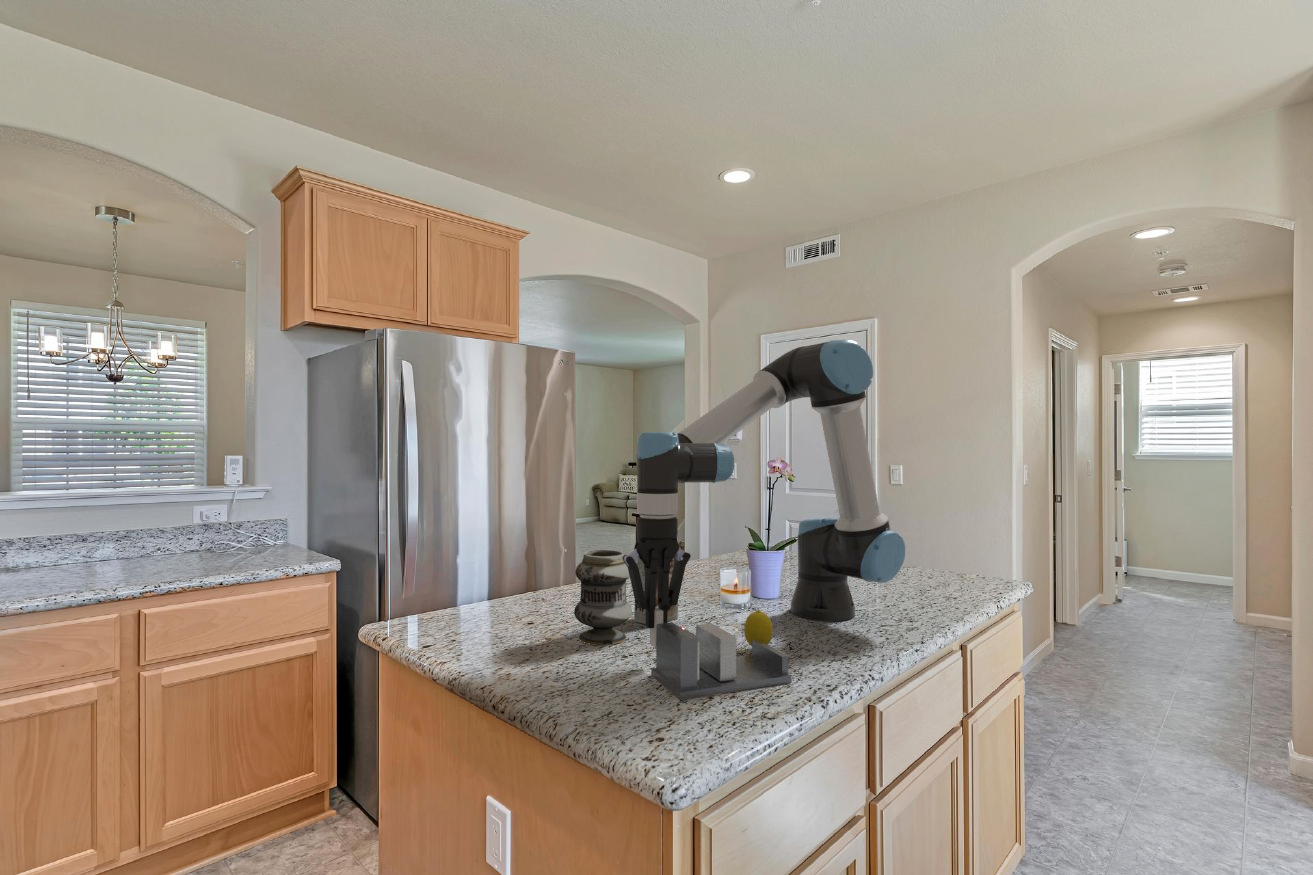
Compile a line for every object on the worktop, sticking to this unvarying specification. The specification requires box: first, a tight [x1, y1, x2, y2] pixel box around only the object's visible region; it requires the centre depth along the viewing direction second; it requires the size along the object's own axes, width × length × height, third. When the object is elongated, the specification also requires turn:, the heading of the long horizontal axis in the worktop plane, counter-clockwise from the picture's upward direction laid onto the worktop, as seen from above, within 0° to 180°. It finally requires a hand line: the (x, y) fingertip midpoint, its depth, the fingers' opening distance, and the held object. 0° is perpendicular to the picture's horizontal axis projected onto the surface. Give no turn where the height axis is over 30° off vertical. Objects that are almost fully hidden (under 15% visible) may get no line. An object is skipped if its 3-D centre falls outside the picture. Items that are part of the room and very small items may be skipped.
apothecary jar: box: [573, 548, 633, 646], centre depth 135 cm, size 12×12×18 cm
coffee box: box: [633, 555, 679, 625], centre depth 150 cm, size 9×6×16 cm
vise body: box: [650, 621, 792, 701], centre depth 112 cm, size 21×12×9 cm, turn 113°
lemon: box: [744, 609, 774, 647], centre depth 128 cm, size 6×6×8 cm
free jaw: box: [678, 623, 737, 681], centre depth 117 cm, size 3×20×7 cm, turn 23°
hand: (656, 644), depth 118 cm, fingers closed
